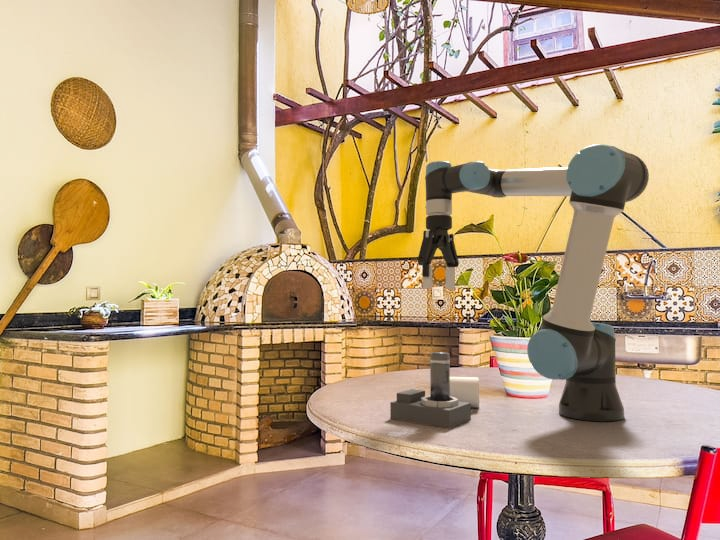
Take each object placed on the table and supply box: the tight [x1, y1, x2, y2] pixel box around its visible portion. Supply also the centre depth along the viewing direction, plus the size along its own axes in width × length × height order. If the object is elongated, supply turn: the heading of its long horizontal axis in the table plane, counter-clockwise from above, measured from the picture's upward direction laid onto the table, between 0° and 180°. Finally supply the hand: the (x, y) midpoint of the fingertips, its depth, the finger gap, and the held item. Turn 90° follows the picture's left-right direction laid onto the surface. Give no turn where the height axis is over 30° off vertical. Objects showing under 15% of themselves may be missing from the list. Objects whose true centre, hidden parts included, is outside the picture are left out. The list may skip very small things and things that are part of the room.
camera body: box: [389, 388, 472, 429], centre depth 136 cm, size 16×11×6 cm
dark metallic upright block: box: [429, 351, 451, 401], centre depth 135 cm, size 5×5×12 cm
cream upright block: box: [450, 376, 480, 409], centre depth 153 cm, size 12×10×8 cm
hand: (439, 289), depth 161 cm, fingers open, 13 cm apart
